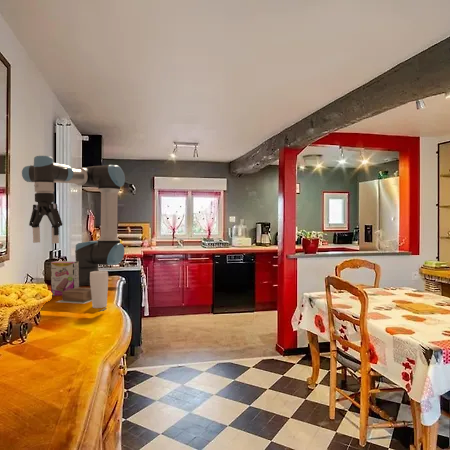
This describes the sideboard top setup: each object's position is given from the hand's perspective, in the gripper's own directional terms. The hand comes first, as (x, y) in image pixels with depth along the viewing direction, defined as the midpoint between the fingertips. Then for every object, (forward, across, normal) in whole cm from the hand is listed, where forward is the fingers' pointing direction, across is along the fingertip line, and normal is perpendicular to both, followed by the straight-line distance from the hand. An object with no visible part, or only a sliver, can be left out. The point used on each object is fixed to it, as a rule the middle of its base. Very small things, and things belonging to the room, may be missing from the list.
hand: (45, 242), depth 164 cm
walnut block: (+24, +12, +8) cm, 28 cm away
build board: (+26, +12, +8) cm, 29 cm away
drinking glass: (+26, +30, +3) cm, 40 cm away
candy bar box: (+26, -3, +11) cm, 28 cm away
